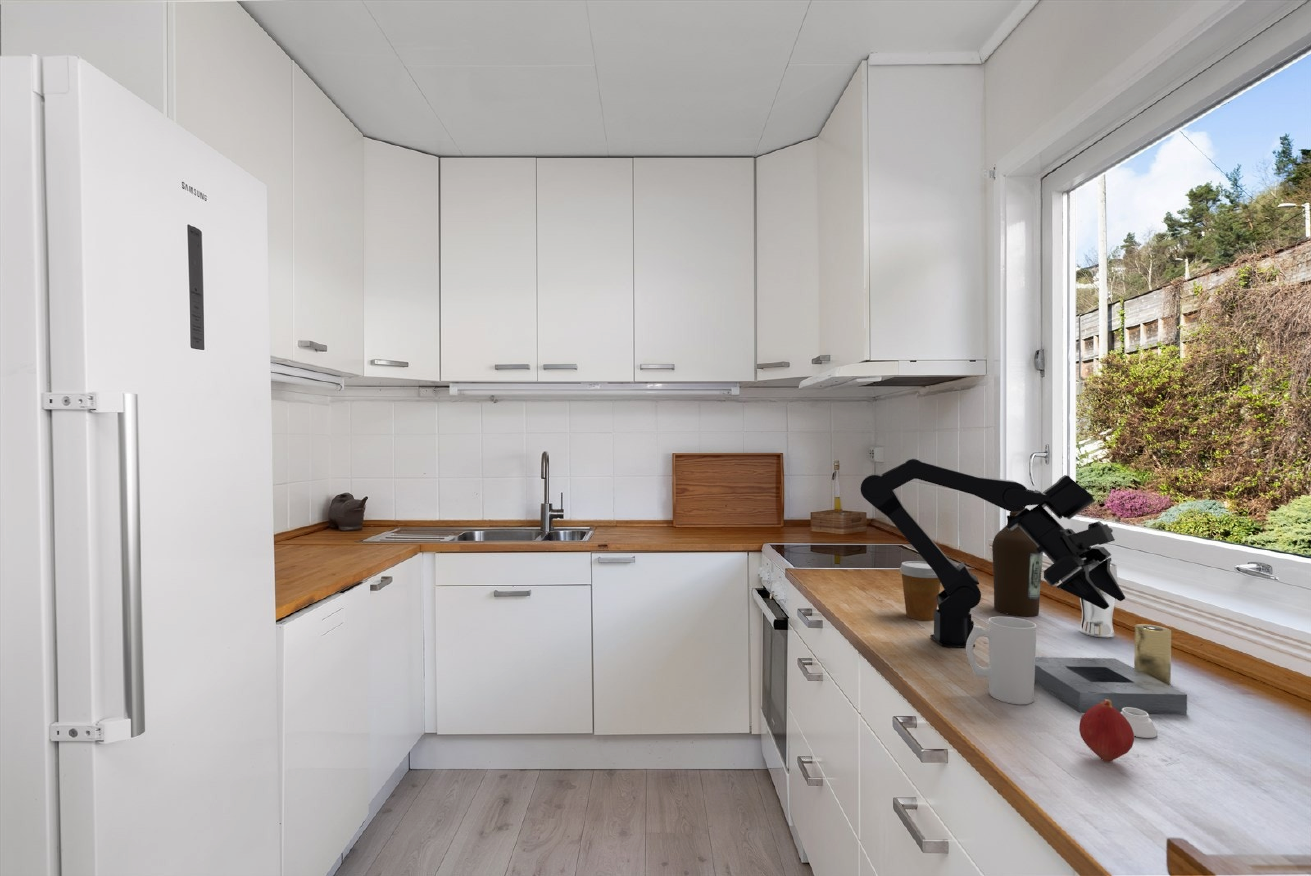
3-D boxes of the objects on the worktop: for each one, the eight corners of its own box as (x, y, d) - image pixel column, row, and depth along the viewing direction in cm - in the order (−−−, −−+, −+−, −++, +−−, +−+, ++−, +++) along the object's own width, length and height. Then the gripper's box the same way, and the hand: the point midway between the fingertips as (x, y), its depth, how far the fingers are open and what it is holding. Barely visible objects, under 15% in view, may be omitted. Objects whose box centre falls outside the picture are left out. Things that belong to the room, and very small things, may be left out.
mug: (1030, 692, 107) (1031, 618, 107) (1040, 708, 101) (1041, 630, 101) (962, 684, 111) (963, 612, 110) (968, 699, 104) (969, 623, 104)
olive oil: (984, 610, 157) (986, 506, 157) (1000, 603, 165) (1001, 503, 165) (1033, 620, 150) (1035, 510, 150) (1047, 611, 157) (1049, 507, 157)
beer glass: (1123, 639, 136) (1124, 567, 136) (1085, 637, 137) (1086, 565, 137) (1107, 630, 143) (1108, 561, 143) (1071, 627, 144) (1072, 559, 144)
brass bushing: (1147, 685, 111) (1148, 631, 111) (1127, 674, 116) (1127, 623, 116) (1178, 686, 111) (1178, 632, 111) (1155, 675, 116) (1156, 623, 116)
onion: (1068, 750, 87) (1069, 690, 87) (1109, 749, 88) (1109, 689, 88) (1101, 773, 82) (1102, 709, 82) (1144, 771, 82) (1145, 707, 82)
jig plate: (1079, 712, 100) (1079, 692, 100) (1022, 673, 116) (1022, 656, 116) (1186, 714, 99) (1187, 694, 99) (1114, 675, 115) (1114, 658, 115)
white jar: (1157, 731, 94) (1115, 721, 97) (1158, 710, 94) (1115, 701, 97) (1156, 744, 90) (1111, 733, 93) (1156, 722, 90) (1112, 712, 93)
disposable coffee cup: (889, 613, 154) (890, 562, 154) (919, 609, 158) (920, 559, 158) (921, 624, 145) (922, 570, 145) (952, 619, 149) (953, 567, 149)
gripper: (1064, 511, 115) (1139, 585, 107) (1099, 504, 127) (1169, 570, 119) (1015, 549, 121) (1083, 622, 113) (1053, 539, 134) (1117, 605, 125)
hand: (1115, 603), depth 117 cm, fingers open, 9 cm apart
